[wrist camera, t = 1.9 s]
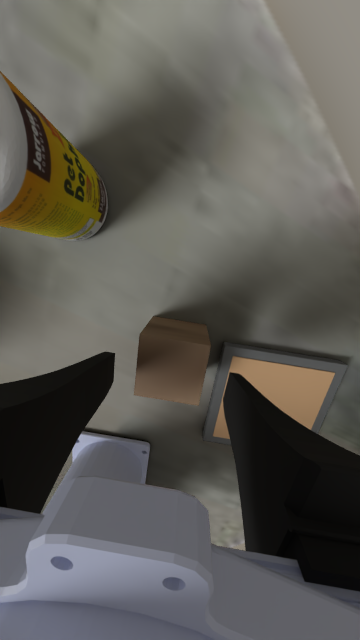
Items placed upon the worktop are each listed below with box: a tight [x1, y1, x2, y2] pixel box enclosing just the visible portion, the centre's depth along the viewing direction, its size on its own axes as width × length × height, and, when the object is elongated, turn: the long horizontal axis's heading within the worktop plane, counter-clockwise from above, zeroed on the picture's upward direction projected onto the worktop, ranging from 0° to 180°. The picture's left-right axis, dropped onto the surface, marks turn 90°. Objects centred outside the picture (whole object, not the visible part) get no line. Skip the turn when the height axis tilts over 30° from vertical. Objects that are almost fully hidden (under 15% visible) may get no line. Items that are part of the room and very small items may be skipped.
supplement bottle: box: [0, 71, 108, 241], centre depth 9 cm, size 6×6×10 cm
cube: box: [134, 316, 211, 406], centre depth 15 cm, size 4×4×4 cm
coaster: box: [203, 342, 348, 445], centre depth 17 cm, size 10×10×1 cm
